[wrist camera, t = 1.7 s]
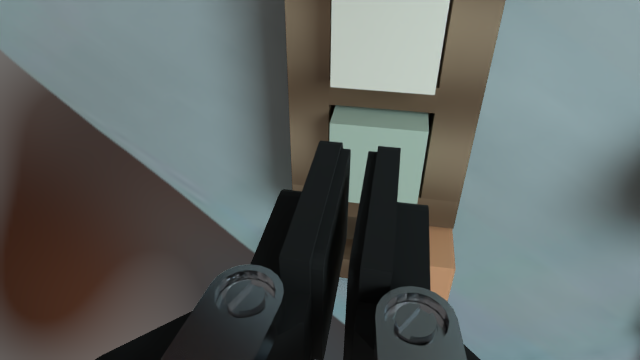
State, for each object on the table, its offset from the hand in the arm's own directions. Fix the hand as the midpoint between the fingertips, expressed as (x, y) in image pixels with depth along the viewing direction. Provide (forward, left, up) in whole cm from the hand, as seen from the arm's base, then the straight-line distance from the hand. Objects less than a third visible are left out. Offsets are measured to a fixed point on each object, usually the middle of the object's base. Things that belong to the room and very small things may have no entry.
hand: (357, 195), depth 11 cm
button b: (+7, 0, -15) cm, 16 cm away
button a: (0, 0, -15) cm, 15 cm away
